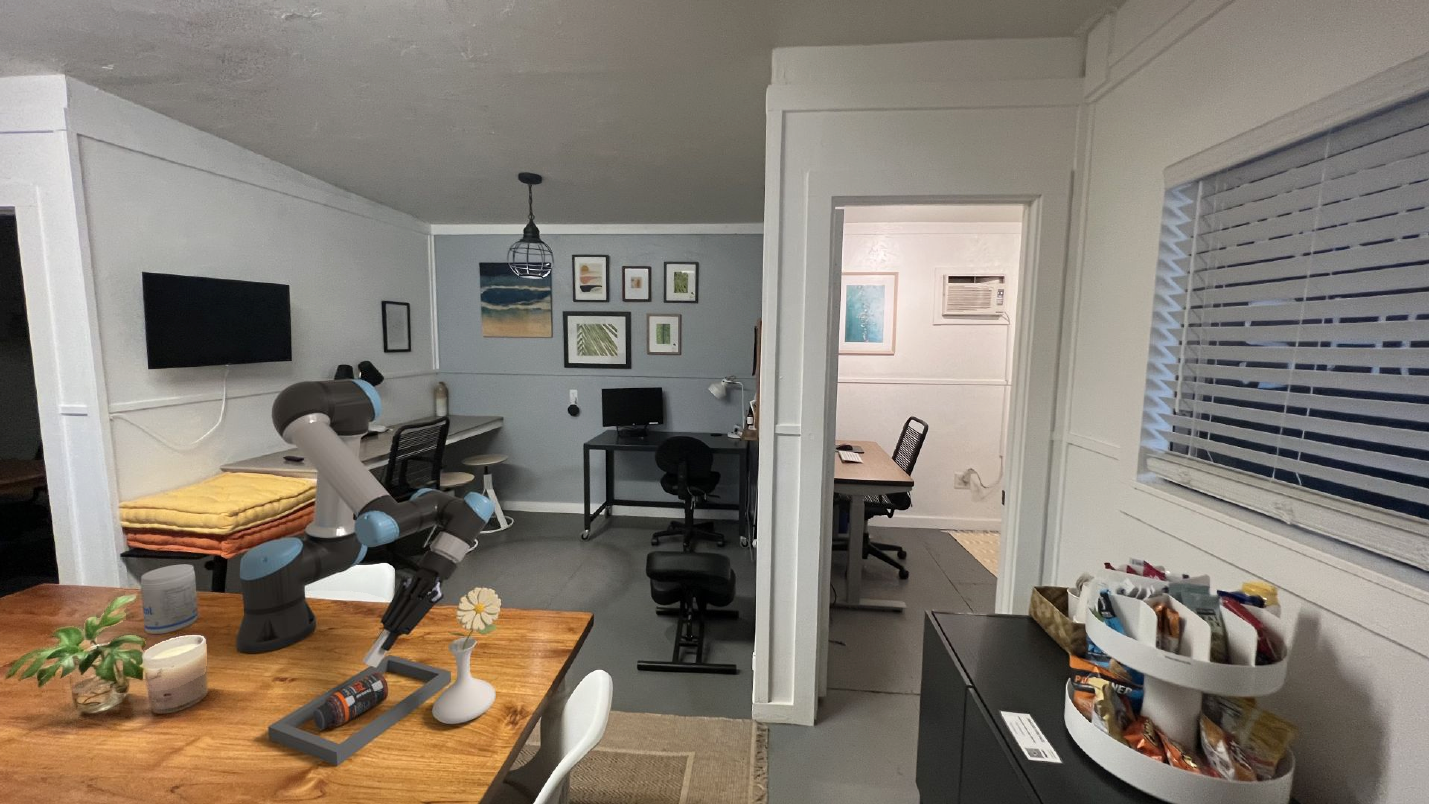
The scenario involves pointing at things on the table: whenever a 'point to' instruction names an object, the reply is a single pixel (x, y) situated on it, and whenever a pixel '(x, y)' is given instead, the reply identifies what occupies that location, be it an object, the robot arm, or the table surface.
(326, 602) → the table surface
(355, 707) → the supplement bottle
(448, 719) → the flower in vase
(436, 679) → the corral
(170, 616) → the supplement tub
